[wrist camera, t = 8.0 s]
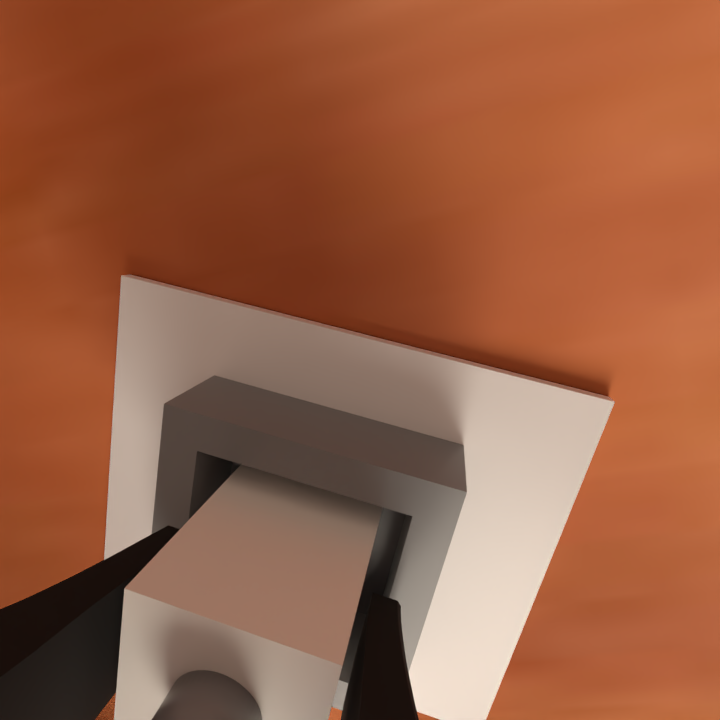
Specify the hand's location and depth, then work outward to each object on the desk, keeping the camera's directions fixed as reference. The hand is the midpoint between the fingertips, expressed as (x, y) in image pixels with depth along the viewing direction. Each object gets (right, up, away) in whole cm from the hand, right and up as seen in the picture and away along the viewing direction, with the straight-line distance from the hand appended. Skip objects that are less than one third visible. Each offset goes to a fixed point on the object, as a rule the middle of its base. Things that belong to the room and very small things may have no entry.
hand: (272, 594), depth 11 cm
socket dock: (+1, +1, +3) cm, 4 cm away
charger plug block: (+1, +1, +3) cm, 3 cm away
